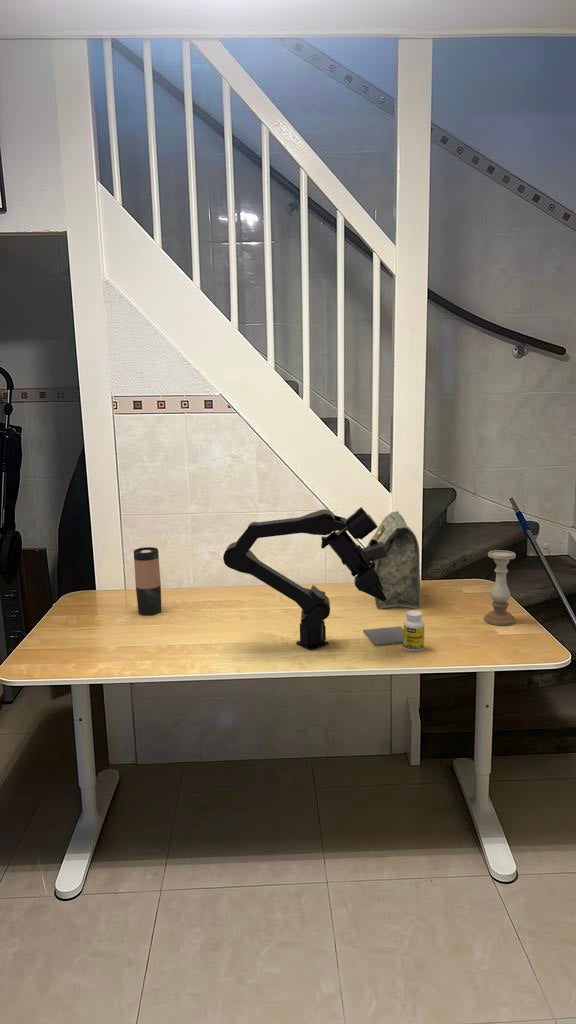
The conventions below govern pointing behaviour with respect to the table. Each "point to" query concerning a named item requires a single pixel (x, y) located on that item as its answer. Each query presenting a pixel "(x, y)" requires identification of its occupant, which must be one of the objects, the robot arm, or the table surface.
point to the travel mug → (147, 580)
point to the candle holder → (500, 590)
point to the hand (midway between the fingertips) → (383, 595)
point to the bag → (398, 563)
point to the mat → (385, 635)
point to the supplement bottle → (413, 631)
